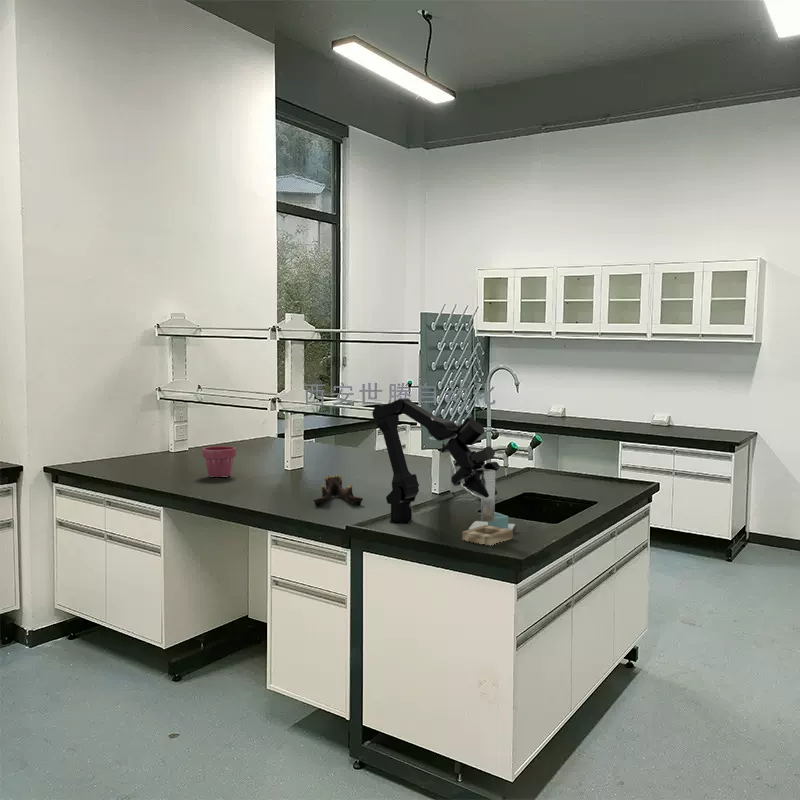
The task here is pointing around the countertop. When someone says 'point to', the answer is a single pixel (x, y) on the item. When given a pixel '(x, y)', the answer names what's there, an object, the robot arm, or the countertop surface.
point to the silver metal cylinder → (488, 502)
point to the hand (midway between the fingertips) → (492, 495)
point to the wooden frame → (487, 535)
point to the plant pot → (219, 460)
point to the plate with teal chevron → (495, 522)
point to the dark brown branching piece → (336, 491)
